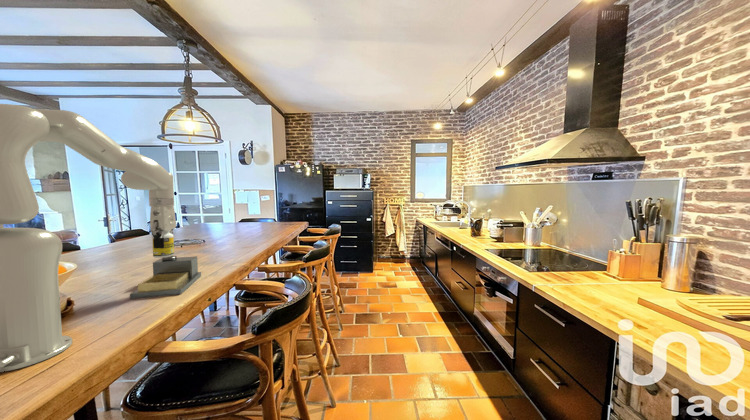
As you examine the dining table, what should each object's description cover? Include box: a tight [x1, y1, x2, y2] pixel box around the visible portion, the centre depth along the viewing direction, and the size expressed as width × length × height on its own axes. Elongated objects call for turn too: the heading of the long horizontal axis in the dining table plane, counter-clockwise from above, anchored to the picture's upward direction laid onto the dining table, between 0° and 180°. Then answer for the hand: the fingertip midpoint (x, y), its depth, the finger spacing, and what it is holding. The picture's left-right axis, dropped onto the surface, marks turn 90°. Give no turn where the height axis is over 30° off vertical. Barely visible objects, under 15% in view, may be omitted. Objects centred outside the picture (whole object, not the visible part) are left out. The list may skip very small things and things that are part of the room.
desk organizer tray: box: [129, 255, 202, 300], centre depth 103 cm, size 22×16×11 cm
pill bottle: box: [152, 229, 175, 259], centre depth 99 cm, size 6×6×12 cm
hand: (163, 245), depth 99 cm, fingers closed on pill bottle, 6 cm apart
